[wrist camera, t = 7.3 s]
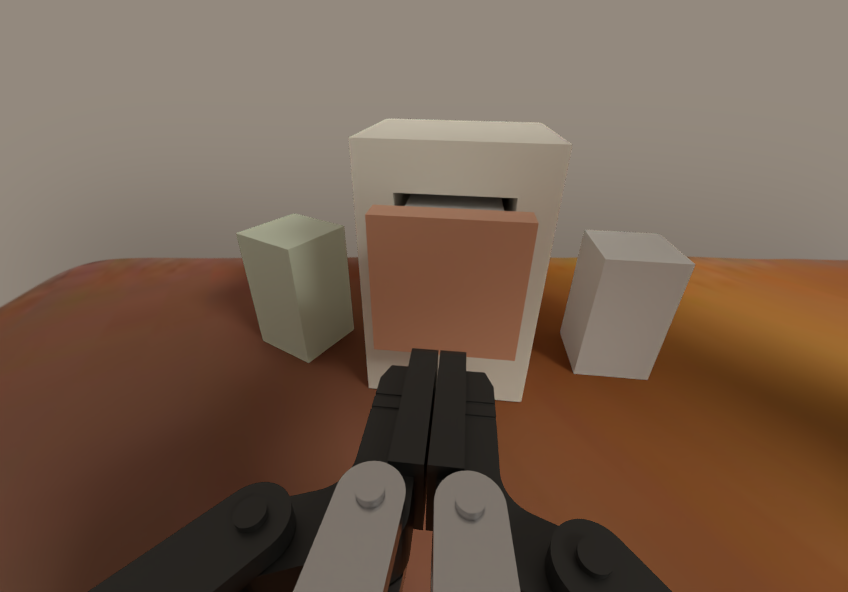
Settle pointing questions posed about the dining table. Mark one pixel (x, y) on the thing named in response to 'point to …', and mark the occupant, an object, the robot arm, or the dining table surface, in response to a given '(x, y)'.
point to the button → (449, 274)
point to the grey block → (622, 302)
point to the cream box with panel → (462, 176)
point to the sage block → (299, 283)
